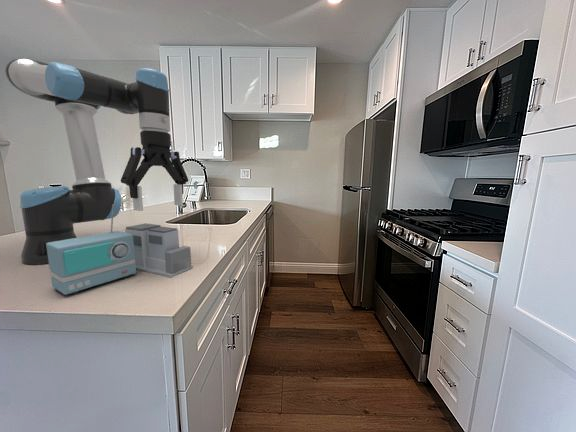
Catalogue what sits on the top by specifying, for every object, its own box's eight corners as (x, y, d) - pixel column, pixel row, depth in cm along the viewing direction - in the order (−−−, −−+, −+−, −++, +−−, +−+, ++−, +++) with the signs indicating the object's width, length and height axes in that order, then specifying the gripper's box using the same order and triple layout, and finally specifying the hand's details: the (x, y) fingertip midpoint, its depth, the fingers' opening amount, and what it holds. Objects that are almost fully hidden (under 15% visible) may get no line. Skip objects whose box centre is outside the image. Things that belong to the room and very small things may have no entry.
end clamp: (166, 272, 71) (164, 252, 70) (185, 264, 78) (184, 245, 77) (172, 273, 70) (171, 253, 69) (191, 265, 77) (190, 246, 76)
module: (148, 257, 75) (145, 229, 73) (163, 252, 79) (161, 226, 78) (165, 260, 72) (163, 231, 71) (179, 255, 77) (178, 228, 75)
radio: (66, 300, 57) (54, 212, 53) (52, 290, 61) (40, 208, 58) (139, 276, 70) (132, 205, 67) (122, 270, 75) (116, 202, 71)
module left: (126, 264, 77) (122, 227, 75) (148, 257, 84) (145, 223, 82) (142, 268, 74) (138, 229, 72) (163, 260, 81) (161, 225, 79)
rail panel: (124, 266, 77) (123, 255, 76) (147, 258, 84) (146, 248, 84) (171, 277, 69) (170, 265, 69) (192, 268, 77) (192, 256, 76)
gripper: (119, 122, 57) (127, 214, 61) (198, 137, 80) (200, 204, 83) (98, 124, 60) (107, 211, 64) (180, 138, 83) (183, 202, 86)
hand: (160, 207), depth 74 cm, fingers open, 13 cm apart
